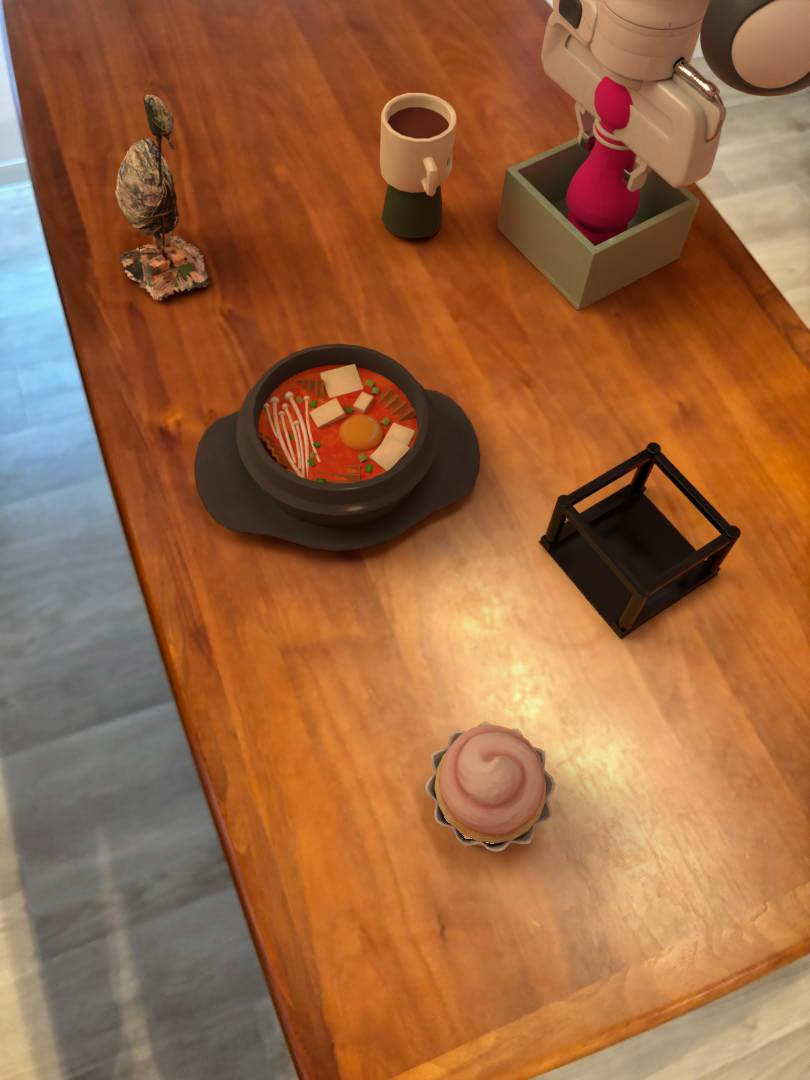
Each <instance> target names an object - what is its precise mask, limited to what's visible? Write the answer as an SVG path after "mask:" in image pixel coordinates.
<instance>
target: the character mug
mask: <svg viewBox="0 0 810 1080" xmlns="http://www.w3.org/2000/svg"><path fill="white" fill-rule="evenodd" d="M456 129H457V113H456V110H455V109H454V108H453V106H452V105H451V104H450V103H449V102H448V101H447V100H444V99H443V98H441V97H438V96H437V95H435V94H429V93H425V92H407V93H403V94H400V95H396V96H395V97H393V98H392V99H391V100H389V101H388V102H386V104H385V106H384V107H383V109H382V111H381V115H380V139H379V140H380V145H379V167H380V175H381V176H382V178H383V179H384V181H386V184H387V186H386V187H387V188H386V192H385V196H384V201H383V206H382V213H381V220H382V223H383V227H385V229H386V230H387V231H389V232H390V233H391V234H392V235H394V236H399V237H401V238H405V239H423V238H427V237H431V236H434V235H435V234H436V233H437V232H438V231H439V230H440V229H441V226H442V223H443V197H442V187H441V186H442V184H443V183H444V182H445V181H446V180H448V178H449V177H450V174H451V172H452V171H453V170H452V169H453V147H454V145H455V142H456Z"/></svg>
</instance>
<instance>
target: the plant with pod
mask: <svg viewBox="0 0 810 1080" xmlns="http://www.w3.org/2000/svg"><path fill="white" fill-rule="evenodd" d="M142 99H143V100H142V101H143V105H144V110H145V115H146V120H147V123H148V127H149V131H150V133H151V135H152V136H155V140H156V142H157V145H156V143H155V140H154V139H153V138H143V137H142V138H141V139H140V140H138V141H136V142H134V143H132V144H131V146H130V148H129V150H127V151H126V155H125V156H124V158H123V159H122V162H121V164H120V166H119V169H118V172H117V176H116V188H115V191H114V193H115V197H116V201H117V204H118V206H119V210H120V211H121V212H122V214H123V215H124V217H125V218H126V219H127V221H128V222H129V223H130V224H131V226H132V228H134V229H136V231H138V232H140V233H141V234H143V235H145V236H152V241H153V242H154V243H153V244H152V245H150V244H149V243H147V244H146V245H145V244H144V245H142V246H139V247H140V248H142V247H143V248H142V249H140V250H139V247H136V249H128V251H127V250H126V251H125V252H123V253H122V254H121V256H119V258H120V259H119V260H120V264H122V266H123V268H124V273H125V274H126V275H127V276H126V277H127V278H129V280H132V281H134V282H135V283H139V288H142V289H146V292H147V293H149V295H150V296H151V297H152V300H154V301H163V300H164V298H165V299H168V297H169V296H170V295H175V292H174V291H176V292H177V293H180V291H181V292H183V291H185V290H187V291H188V292H190V291H191V289H194V290H195V288H199V289H201V288H206V287H207V286H208V284H209V282H210V279H211V277H210V276H209V274H208V272H207V270H206V267H205V263H204V258H203V257H204V254H202V251H201V249H200V248H197V246H195V244H192V243H187V241H186V240H184V239H183V237H179V234H177V235H176V234H174V232H175V229H176V227H177V225H178V224H179V221H180V219H179V217H180V213H179V210H178V203H177V192H176V189H175V185H176V183H175V181H174V176H173V174H172V172H171V171H170V167H169V164H168V162H167V159H166V157H165V154H164V153H163V149H162V148H163V147H162V142H163V137H164V138H165V139H166V140H167V143H168V146H169V147H170V149H172V150H175V149H176V147H175V145H174V143H173V142H172V138H171V134H172V132H173V130H174V127H175V126H174V117H173V114H172V111H171V109H170V108H169V107H168V106H167V104H166V103H165V102H164V101H163V100H162V99H161V97H158V96H156V95H154V94H145V95H144V96H143V97H142Z"/></svg>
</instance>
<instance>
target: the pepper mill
mask: <svg viewBox="0 0 810 1080" xmlns="http://www.w3.org/2000/svg"><path fill="white" fill-rule="evenodd" d="M630 105H633V101H632V98H631V96H630V94H629V92H628V90H627V89H626V87H625V86H623V85H621V84H618V83H616V82H614V81H613V80H611V79H610V78H609V77H608V76H607V77H603V78H602V81H601V82H600V83H599V84H598V86H597V88H596V91H595V97H594V106H595V109H596V112H597V114H598V116H599V117H600V119H601V122H599V120H598V119H596V118H595V122H594V125H593V133H594V136H595V137H596V142H595V145H594V148H593V150H592V152H591V154H590V155H589V157H588V158H587V159H586V160H585V162H584V163H583V164H582V165H581V167H580V168H579V169H578V170H577V172H576V173H575V175H574V177H573V178H572V180H571V182H570V185H569V188H568V191H567V196H566V201H567V206H568V209H569V211H568V214H567V218H566V219H567V220H568V221H570V222H571V223H572V224H573V225H574V226H575V227H576V228H577V229H578V230H579V231H580V232H581V233H582V234H583V235H584V236H585V237H586V238H587V239H588V240H589V241H590V242H591V243H592V244H593V245H594V246H597V245H599V244H601V243H603V242H605V241H607V240H609V239H611V238H613V237H615V236H617V235H619V234H621V233H623V232H625V231H627V228H628V223H629V222H630V221H631V220H632V219H633V218H634V216H635V215H636V213H637V210H638V207H639V202H640V189H638V190H635V191H633V192H631V191H630V190H629V189H627V188H626V187H625V186H624V185H623V184H622V183H621V179H622V178H623V175H622V174H623V171H624V169H625V168H628V167H632V166H633V165H634V164H635V157H636V154H635V153H634V152H633V151H632V150H631V149H629V148H628V147H627V146H626V145H625V144H624V143H623V142H622V141H620V140H619V139H618V137H617V136H616V135H614V134H613V132H614V130H619V129H623V128H625V127H626V126H627V124H628V122H629V118H630Z"/></svg>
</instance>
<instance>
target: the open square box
mask: <svg viewBox="0 0 810 1080" xmlns="http://www.w3.org/2000/svg"><path fill="white" fill-rule="evenodd" d="M577 139H578V136H577V137H574V138H572V139H570V140H568V141H565V142H563V143H560V144H559V145H556V146H554V147H551V148H549V149H548V150H545V151H543V152H540V153H539V154H536V155H534V156H532V157H530V158H527V159H525V160H523V161H521V162H519V163H515V164H514V165H512V166H510V167H507V168H506V169H505V173H504V178H503V179H504V180H503V185H502V192H501V199H500V205H499V211H498V216H497V221H496V222H497V223H496V228H497V230H498V231H499V232H500V233H501V234H502V235H503V236H504V237H505V238H506V239H507V241H509V242H510V243H511V244H512V245H513V246H514V247H515V248H516V249H517V250H518V251H519V252H520V253H521V254H522V255H523V256H524V257H525V259H527V260H528V261H529V262H530V264H532V265H533V267H535V269H537V270H538V271H539V273H540V274H542V276H543V277H545V279H546V280H547V281H549V283H550V284H551V285H552V286H553V287H554V288H555V289H556V290H557V291H558V292H559V293H560V294H561V295H562V296H563V297H564V298H565V299H566V300H567V301H568V302H569V303H570V304H571V305H572V306H573V307H574V308H575V309H576V310H577V311H581V310H582V309H584V308H586V307H588V306H590V305H592V304H593V303H596V302H598V301H599V300H601V299H603V298H605V297H607V296H609V295H612V294H614V293H615V292H617V291H619V290H621V289H623V288H625V287H626V286H629V285H630V284H632V283H634V282H636V281H638V280H640V279H642V278H644V277H646V276H648V275H650V274H651V273H654V272H656V271H657V270H659V269H661V268H664V267H665V266H667V265H669V264H671V263H673V262H674V261H676V260H679V259H680V256H681V253H682V251H683V249H684V246H685V243H686V240H687V238H688V236H689V233H690V230H691V227H692V225H693V222H694V219H695V218H696V214H697V211H698V210H699V206H700V204H701V200H700V199H699V198H697V196H696V195H695V194H693V193H692V192H691V191H690V190H689V189H687V187H686V186H685V187H682V188H678V189H676V188H674V187H672V186H671V185H670V184H669V183H668V182H666V181H665V180H664V179H663V178H662V177H661V176H660V175H659V174H658V173H656V172H655V171H654V170H651V171H650V172H648V174H647V177H646V180H645V183H644V185H643V186H642V187H641V188H640V202H639V207H638V210H637V213H636V215H635V216H634V218H633V219H632V220H631V221H630V222H629V223H628V228H627V231H625V232H623V233H621V234H619V235H617V236H615V237H613V238H611V239H609V240H607V241H605V242H603V243H601V244H599V245H597V246H594V245H593V244H592V243H591V242H590V241H589V240H588V239H587V238H586V237H585V236H584V235H583V234H582V233H581V232H580V231H579V230H578V229H577V228H576V227H575V226H574V225H573V224H572V223H571V222H570V221H568V220H567V219H566V218H567V214H568V211H569V209H568V206H567V201H566V196H567V191H568V188H569V185H570V182H571V180H572V178H573V177H574V175H575V173H576V172H577V170H578V169H579V168H580V167H581V165H582V164H583V163H584V162H585V160H586V159H587V158H588V157H589V155H590V154H591V152H592V150H593V149H591V151H586V150H585V149H584V148H583V147H582V146H580V145H579V144H578V143H577ZM636 158H637V155H636V157H635V164H636Z"/></svg>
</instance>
